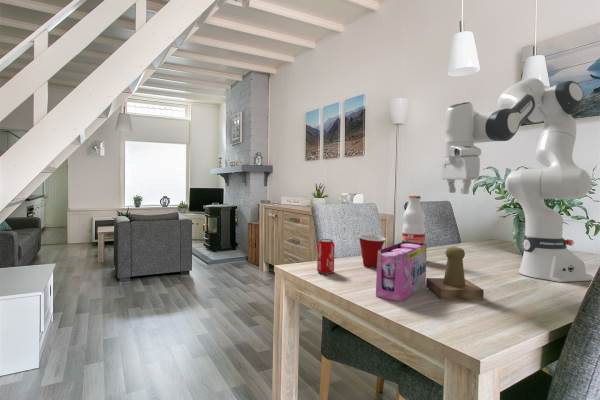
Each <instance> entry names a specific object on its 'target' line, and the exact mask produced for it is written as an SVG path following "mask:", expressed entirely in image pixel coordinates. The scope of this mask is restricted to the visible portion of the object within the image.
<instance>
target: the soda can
mask: <svg viewBox="0 0 600 400" xmlns="http://www.w3.org/2000/svg"><path fill="white" fill-rule="evenodd" d="M316 250H317V254H316V255H317V257H316V258H317V259H316V261H317V262H316V272H319V273H320V274H323V275H330V274H332V273H333V272H335V243H334V240H333V239H329V238H325V239H324V238H322V239H319V240H318V243H317V249H316Z"/></svg>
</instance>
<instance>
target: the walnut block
mask: <svg viewBox="0 0 600 400" xmlns="http://www.w3.org/2000/svg"><path fill="white" fill-rule="evenodd" d="M443 282H444V277H426V284H425V288H426V289H427V288H428V289H427V290H428V291H430V292H431V293H432V294H433V295H435V297H437V298H438V299H439V300H441V301H484V289H482V287H480V286H478V285H476V284H474V283H473V282H471V281H469V280H468V279H466V278H465V286H464V287H452V286H448V285H445V284H444V283H443Z"/></svg>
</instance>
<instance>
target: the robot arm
mask: <svg viewBox="0 0 600 400" xmlns="http://www.w3.org/2000/svg"><path fill="white" fill-rule="evenodd" d="M584 96H585V95H584V90H583V88H582V87H581V85H580V84H579V83H578V82H576V81H574V80H566V81H562V82H559V83H557V84H555V85H552V86H551V87H548V88H545V84H544V82H542V80H540V79H538V78H534V77H529V78H526V79H522V80H520V81H518V82H516V83H514V84H513V85H511V86H509V87H508V88H506V89H504V91H502V93H501V94H500V95H499V97H498V99H497V108H498V110H494V111H490V112H489V111H488V112H484V113H479V112H477V111H475V109H474V106H473V103H472V102H470V101H469V102H468V101H465V102H461V103H456V104H452V105H450V106H448V108H447V109H446V112H445V118H444V120H445V121H444V132H445V141H444V159H443V160H442V165H441V179H442V180H447V181H446V183H447V186H448V192H449V193H450V194H451V193H453V194H454V193H456V190H457V189H456V186H455V183H456V180H459V181H460V180H461V181H462V188H460V193H461V194H462V195H468V194H469V193H470V187H471V185H472V180H473V181H474V180H478V178H479V176H480V173H481V172H480V170H481V166H480V165H481V159H480V156H481V155H482V149H481V148H480V147H477V146H476V145H474V144H480V143H490V142H507V141H508V142H509V141H510V140H511V139H512V138H513V137H514V136H515V135H516V134H517V132H518V131H519V128H520V127H521V125H522V124H525V125H529V126H530V125H535V124H536V125H537V124H538V123H541V122H543V124H544V125H543V129H542V131H541V133H540V135H539V138H538V143H537V146H536V150H535V155H534V156H535V159H536V160H537V162H538V163H540V164H541V165H543V166H544V168H542V167H541V168H522V169H518V170H512V171H511V172H509V174H508V175H507V176H506V179H505V183H504V185H505V189H506V191H507V193H508V194H509V195H510V196H511V197H513V198H514V199H515V200H516V201H517V202H518V203H519V205H520V206H521V208H522V210H523V214H524V224H525V230H524V232H525V233H524V235H523V240H522V241H523V243H522V244H523V245H522V246H523V254H522V260H521V264H520V267H519V269H518V273H519V274H521V275H524V276H526V277H531V278H535V279H540V280H547V281H552V282H558V283H563V282H564V283H566V282H588V281H593V280H592V279H593V277H594V276H592V274H588V273H587V268H586V265H585V261H584V260H583V259H582V258H580V257H578V256H577V255H576V254H574V253H573V252H572V251H571V250H569V249H568V247H567V246H573V245H574V244H575V241H573V240H572V239H567V238H566V239H565V238H563V226H564V225H563V224H564V219H563V216H562V214H561V213H559V212H558V211H556V210H554V209H553V208H551V207H548V206H547V205H546V203H545V200H546V199H548V200H549V199H550V200H551V199H553V200H573V199H579V198H580V199H581V198H583V197H585V196H586V195H588V193H589V192H590V190H591V188H592V183H593V182H592V178H591V176H590V174H589V173H588V171H586V170H585V169H583V168H581V167H579V166H578V165H577V164H576V163H575V162H574V160H573V159H574V158H573V152H574V147H575V143H576V136H577V122H576V120H575V118H574V117H573V116H572V115H575V114H576V113H578V112H579V109H580V107H581V105H582V102H583V99H584Z"/></svg>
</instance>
